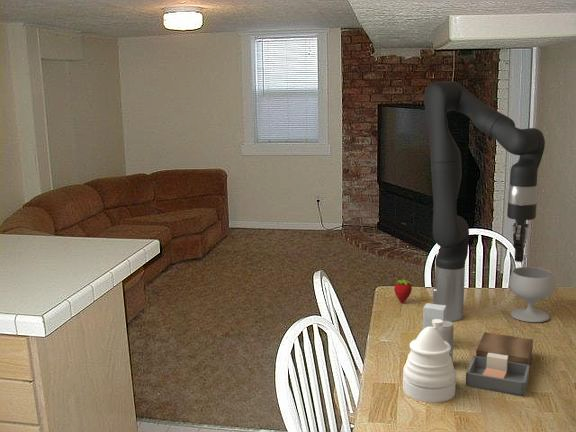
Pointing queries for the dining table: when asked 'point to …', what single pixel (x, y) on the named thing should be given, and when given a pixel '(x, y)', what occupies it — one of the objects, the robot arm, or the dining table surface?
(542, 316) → the chalice
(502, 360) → the tile back
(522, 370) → the box
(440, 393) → the honey pot
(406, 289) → the strawberry
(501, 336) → the wooden grain block
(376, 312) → the dining table surface
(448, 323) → the energy drink
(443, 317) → the skincare box
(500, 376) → the tile front
